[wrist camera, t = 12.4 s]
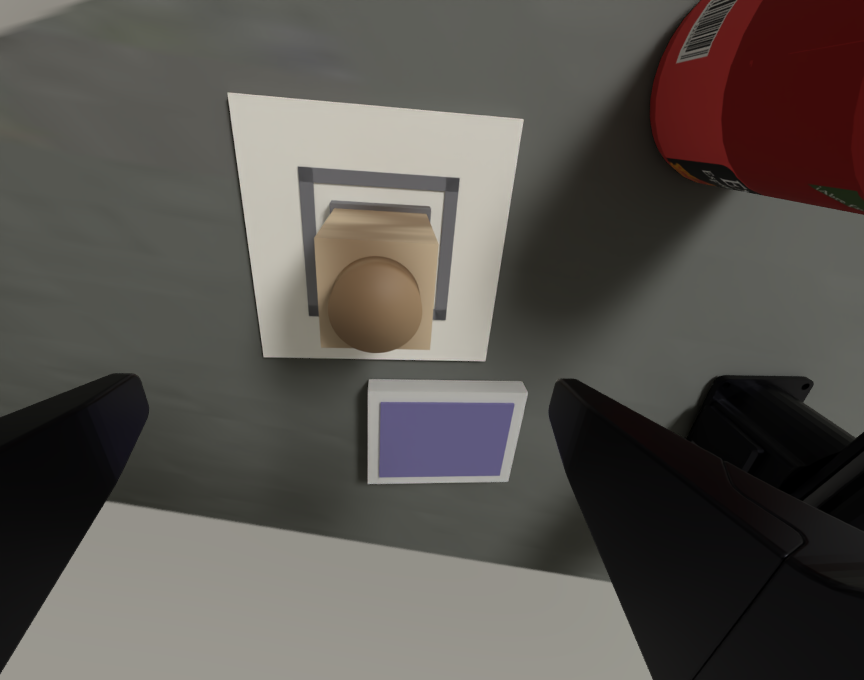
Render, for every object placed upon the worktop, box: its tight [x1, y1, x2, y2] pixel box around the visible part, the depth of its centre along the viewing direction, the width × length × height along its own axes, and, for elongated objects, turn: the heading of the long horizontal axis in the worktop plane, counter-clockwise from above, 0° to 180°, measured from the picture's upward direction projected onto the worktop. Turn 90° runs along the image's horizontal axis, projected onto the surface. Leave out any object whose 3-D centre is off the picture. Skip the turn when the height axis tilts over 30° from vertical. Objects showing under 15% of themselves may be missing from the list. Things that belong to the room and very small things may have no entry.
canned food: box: [650, 0, 864, 215], centre depth 13 cm, size 8×8×11 cm
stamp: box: [314, 200, 439, 353], centre depth 16 cm, size 4×4×7 cm
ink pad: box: [368, 379, 528, 484], centre depth 24 cm, size 9×7×1 cm
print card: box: [228, 93, 524, 361], centre depth 19 cm, size 12×12×1 cm
